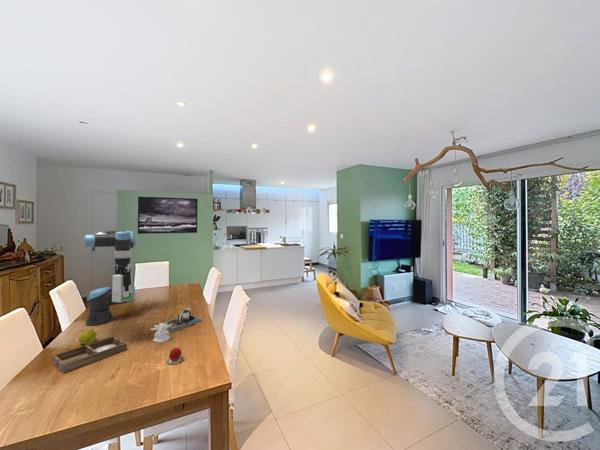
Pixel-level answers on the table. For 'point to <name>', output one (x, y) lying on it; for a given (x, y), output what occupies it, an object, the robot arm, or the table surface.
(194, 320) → the valet frame
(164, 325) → the figurine
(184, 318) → the camera
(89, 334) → the lemon
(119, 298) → the skincare box
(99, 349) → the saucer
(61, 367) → the divided wooden tray
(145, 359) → the table surface
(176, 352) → the red push button
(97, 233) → the robot arm
